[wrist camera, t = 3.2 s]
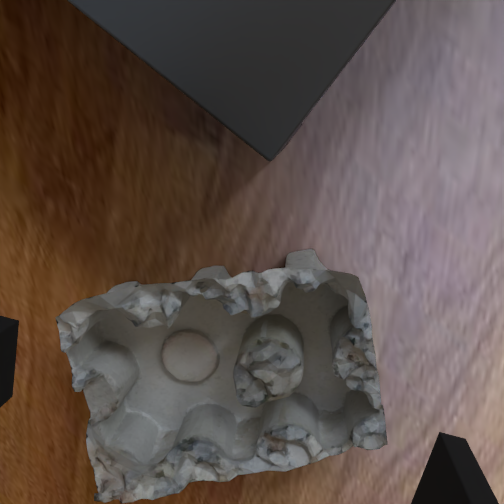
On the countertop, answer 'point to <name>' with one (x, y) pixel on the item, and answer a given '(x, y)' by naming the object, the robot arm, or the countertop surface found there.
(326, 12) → the shelf
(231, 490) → the countertop surface
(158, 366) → the egg carton
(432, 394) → the countertop surface
